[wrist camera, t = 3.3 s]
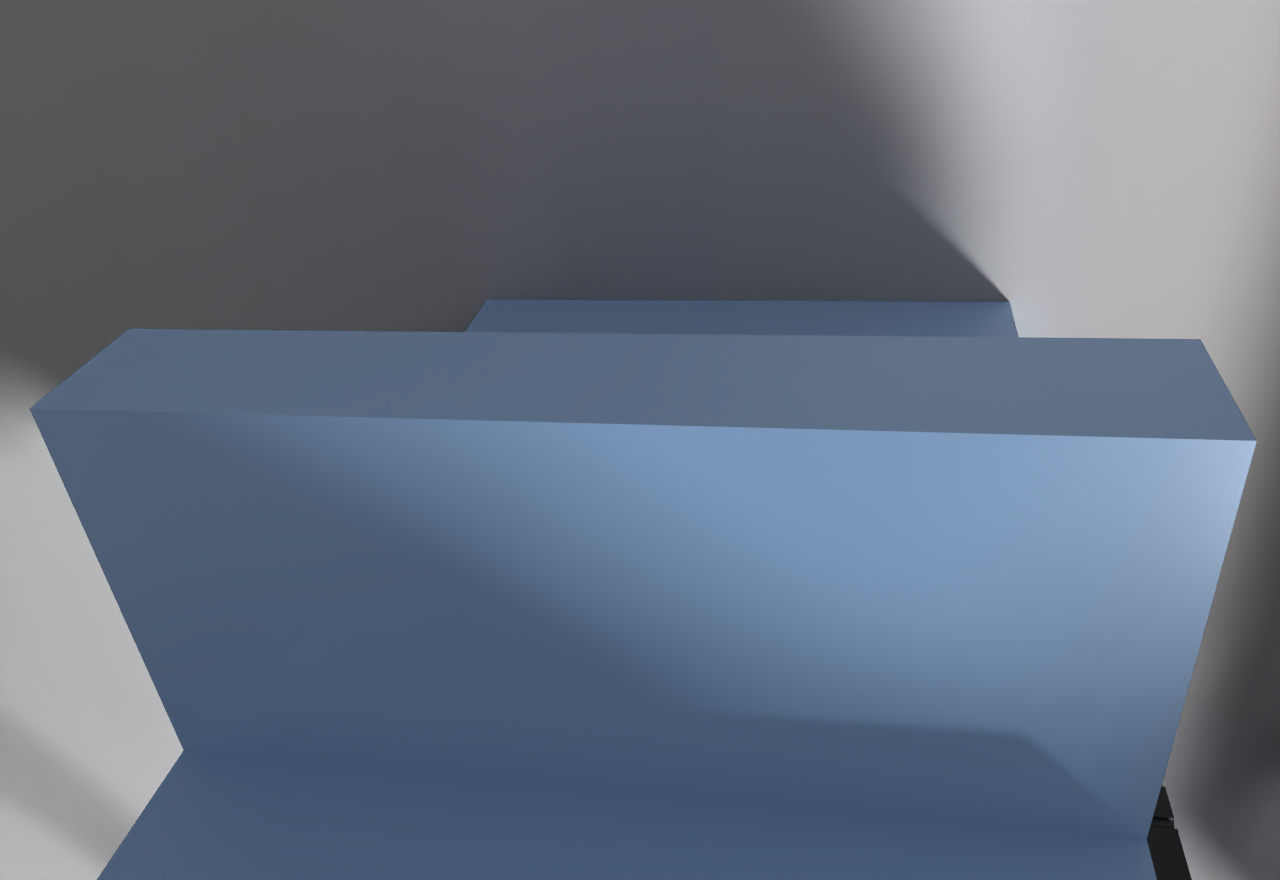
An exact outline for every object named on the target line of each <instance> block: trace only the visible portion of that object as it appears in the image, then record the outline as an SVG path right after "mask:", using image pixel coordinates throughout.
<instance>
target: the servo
mask: <svg viewBox="0 0 1280 880" xmlns="http://www.w3.org/2000/svg"><path fill="white" fill-rule="evenodd" d="M30 410H31V412H32V415H33V417H34V419H35V421H36V424H37V426H38V428H39V430H40V432H41V435H42V437H43V439H44V441H45V444H46V446H47V448H48V450H49V452H50V455H51V457H52V459H53V461H54V463H55V466H56V468H57V470H58V472H59V475H60V477H61V479H62V481H63V483H64V486H65V488H66V490H67V492H68V495H69V497H70V499H71V501H72V503H73V506H74V508H75V510H76V512H77V514H78V517H79V519H80V521H81V523H82V526H83V528H84V530H85V532H86V534H87V537H88V539H89V541H90V543H91V545H92V548H93V550H94V552H95V554H96V557H97V559H98V561H99V563H100V565H101V568H102V570H103V572H104V574H105V577H106V579H107V581H108V583H109V585H110V588H111V590H112V592H113V594H114V596H115V599H116V601H117V603H118V605H119V608H120V610H121V612H122V614H123V616H124V619H125V621H126V623H127V625H128V628H129V630H130V632H131V634H132V636H133V639H134V641H135V643H136V645H137V647H138V650H139V652H140V654H141V656H142V659H143V661H144V663H145V665H146V667H147V670H148V672H149V674H150V676H151V679H152V681H153V683H154V685H155V687H156V690H157V692H158V694H159V696H160V698H161V701H162V703H163V705H164V707H165V710H166V712H167V714H168V716H169V718H170V721H171V723H172V725H173V727H174V729H175V732H176V734H177V736H178V738H179V741H180V743H181V745H182V747H183V749H184V751H183V752H182V754H181V755H180V757H179V758H178V760H177V761H176V763H175V764H174V766H173V767H172V769H171V770H170V772H169V773H168V775H167V776H166V778H165V779H164V781H163V782H162V784H161V785H160V787H159V788H158V790H157V791H156V793H155V794H154V796H153V797H152V799H151V800H150V801H149V803H148V804H147V806H146V807H145V809H144V810H143V812H142V813H141V815H140V816H139V818H138V819H137V821H136V822H135V824H134V825H133V827H132V828H131V830H130V831H129V833H128V834H127V836H126V837H125V839H124V840H123V842H122V843H121V845H120V846H119V848H118V849H117V851H116V852H115V854H114V855H113V857H112V858H111V860H110V861H109V863H108V864H107V865H106V867H105V868H104V870H103V871H102V873H101V874H100V876H99V877H98V879H97V880H1157V878H1156V874H1155V870H1154V866H1153V862H1152V859H1151V855H1150V851H1149V847H1148V843H1147V836H1148V833H1149V829H1150V825H1151V822H1152V818H1153V814H1154V811H1155V807H1156V804H1157V800H1158V796H1159V793H1160V789H1161V786H1162V782H1163V778H1164V775H1165V771H1166V767H1167V764H1168V760H1169V757H1170V753H1171V749H1172V746H1173V742H1174V738H1175V735H1176V731H1177V728H1178V724H1179V720H1180V717H1181V713H1182V710H1183V706H1184V702H1185V699H1186V695H1187V691H1188V688H1189V684H1190V681H1191V677H1192V673H1193V670H1194V666H1195V663H1196V659H1197V655H1198V652H1199V648H1200V644H1201V641H1202V637H1203V634H1204V630H1205V626H1206V623H1207V619H1208V615H1209V612H1210V608H1211V605H1212V601H1213V597H1214V594H1215V590H1216V587H1217V583H1218V579H1219V576H1220V572H1221V568H1222V565H1223V561H1224V558H1225V554H1226V550H1227V547H1228V543H1229V539H1230V536H1231V532H1232V529H1233V525H1234V521H1235V518H1236V514H1237V511H1238V507H1239V503H1240V500H1241V496H1242V492H1243V489H1244V485H1245V482H1246V478H1247V474H1248V471H1249V467H1250V463H1251V460H1252V456H1253V453H1254V449H1255V445H1256V442H1257V440H1256V439H1255V437H1254V435H1253V433H1252V431H1251V430H1250V428H1249V426H1248V424H1247V422H1246V421H1245V419H1244V417H1243V415H1242V413H1241V412H1240V410H1239V408H1238V406H1237V404H1236V403H1235V401H1234V399H1233V397H1232V395H1231V394H1230V392H1229V390H1228V388H1227V386H1226V385H1225V383H1224V381H1223V379H1222V377H1221V376H1220V374H1219V372H1218V370H1217V368H1216V367H1215V365H1214V363H1213V361H1212V359H1211V358H1210V356H1209V354H1208V352H1207V350H1206V349H1205V347H1204V345H1203V343H1202V341H1201V340H1200V339H1111V338H1019V337H1018V333H1017V329H1016V325H1015V322H1014V318H1013V314H1012V310H1011V306H1010V302H971V301H719V300H486V301H485V303H484V304H483V306H482V307H481V309H480V310H479V312H478V313H477V315H476V316H475V318H474V319H473V321H472V322H471V324H470V325H469V327H468V328H467V330H466V331H465V332H413V331H313V330H213V329H128V330H127V331H125V332H124V333H123V334H122V335H121V336H119V337H118V338H117V339H116V340H114V341H113V342H112V343H111V344H109V345H108V346H107V347H106V348H104V349H103V350H102V351H101V352H99V353H98V354H97V355H96V356H94V357H93V358H92V359H91V360H89V361H88V362H87V363H86V364H84V365H83V366H82V367H81V368H79V369H78V370H77V371H76V372H75V373H73V374H72V375H71V376H70V377H68V378H67V379H66V380H65V381H63V382H62V383H61V384H60V385H58V386H57V387H56V388H55V389H53V390H52V391H51V392H50V393H48V394H47V395H46V396H45V397H43V398H42V399H41V400H40V401H38V402H37V403H36V404H35V405H33V406H32V407H31V408H30Z"/></svg>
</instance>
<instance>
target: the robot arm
mask: <svg viewBox="0 0 1280 880" xmlns="http://www.w3.org/2000/svg"><path fill="white" fill-rule="evenodd" d="M1147 843H1148V847H1149V851H1150V855H1151V859H1152V862H1153V866H1154V870H1155V874H1156V878H1157V880H1192V879H1191V876H1190V872H1189V869H1188V865H1187V862H1186V858H1185V855H1184V851H1183V848H1182V844H1181V841H1180V837H1179V834H1178V830H1177V829H1175V828H1174V816H1173V813H1172V809H1171V806H1170V802H1169V799H1168V795H1167V792H1166V788H1165V787H1163V786H1161V789H1160V793H1159V796H1158V800H1157V804H1156V807H1155V811H1154V814H1153V818H1152V822H1151V825H1150V829H1149V833H1148V836H1147Z"/></svg>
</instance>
